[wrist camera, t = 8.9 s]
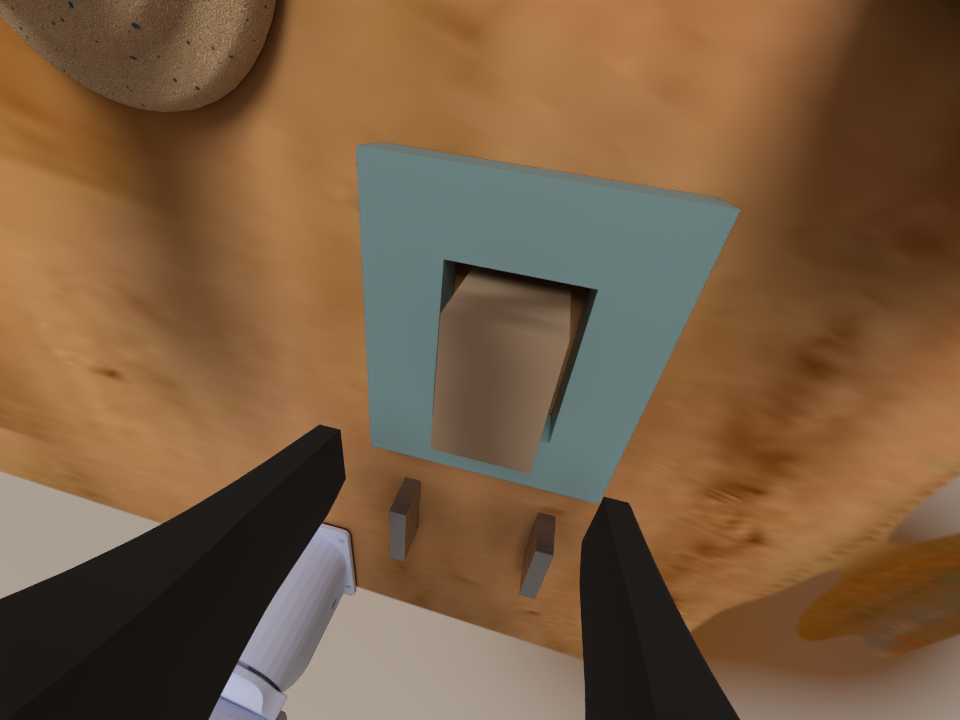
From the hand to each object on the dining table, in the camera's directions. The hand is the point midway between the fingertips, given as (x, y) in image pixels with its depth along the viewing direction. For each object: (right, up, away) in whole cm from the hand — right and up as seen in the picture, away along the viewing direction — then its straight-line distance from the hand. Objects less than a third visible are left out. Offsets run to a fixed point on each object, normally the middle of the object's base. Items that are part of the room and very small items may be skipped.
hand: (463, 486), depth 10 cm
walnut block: (+2, +5, +7) cm, 9 cm away
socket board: (+2, +4, +7) cm, 8 cm away
